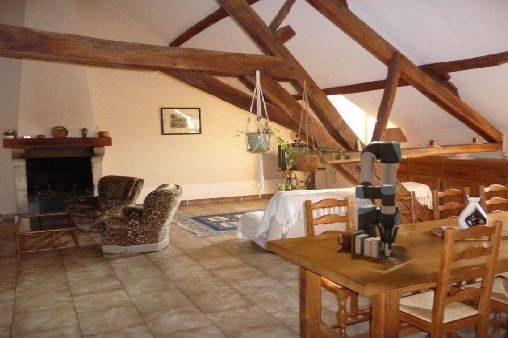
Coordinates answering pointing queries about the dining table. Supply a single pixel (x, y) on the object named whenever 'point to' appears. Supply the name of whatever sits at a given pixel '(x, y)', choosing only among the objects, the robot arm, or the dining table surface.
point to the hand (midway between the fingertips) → (387, 254)
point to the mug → (345, 240)
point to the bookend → (381, 251)
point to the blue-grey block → (360, 243)
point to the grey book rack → (392, 256)
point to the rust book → (367, 247)
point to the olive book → (374, 246)
